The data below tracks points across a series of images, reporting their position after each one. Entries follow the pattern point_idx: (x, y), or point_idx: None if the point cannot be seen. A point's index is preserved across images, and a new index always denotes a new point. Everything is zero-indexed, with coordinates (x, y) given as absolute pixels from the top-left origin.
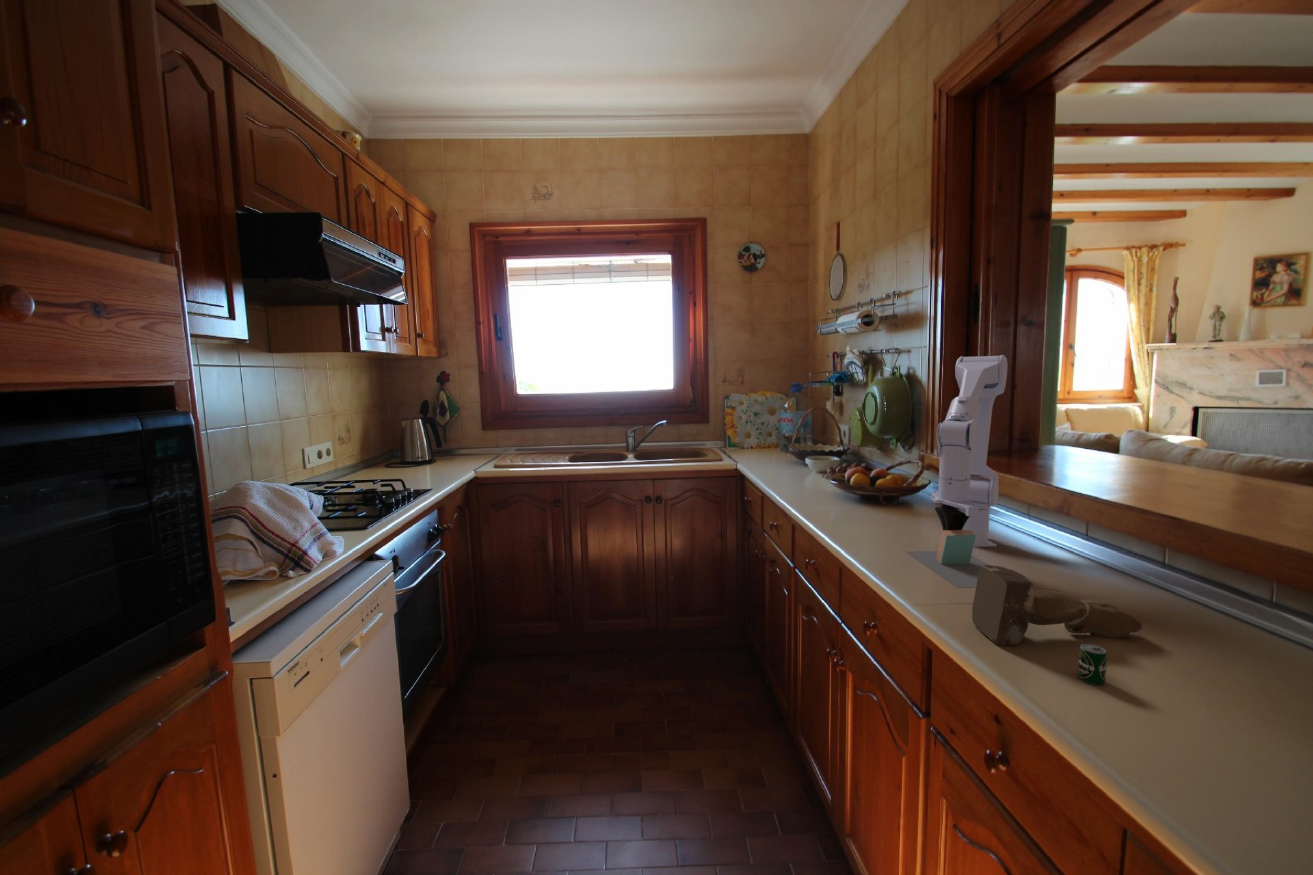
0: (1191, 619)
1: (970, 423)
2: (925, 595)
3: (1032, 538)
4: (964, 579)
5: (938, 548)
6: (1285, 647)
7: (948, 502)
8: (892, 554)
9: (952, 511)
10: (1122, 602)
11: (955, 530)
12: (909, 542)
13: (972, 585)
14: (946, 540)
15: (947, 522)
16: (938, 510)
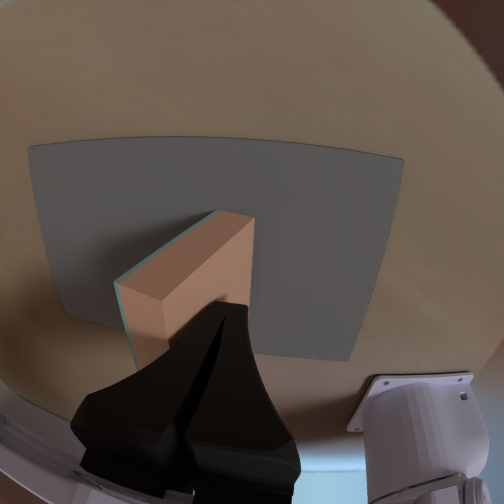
0: (33, 386)
1: None
2: (8, 50)
3: (362, 470)
4: (77, 202)
5: (226, 239)
6: (8, 384)
7: (40, 488)
8: (395, 90)
9: (80, 439)
10: (55, 378)
11: None
12: (488, 258)
13: (42, 197)
14: (135, 267)
15: (146, 368)
16: (205, 437)
